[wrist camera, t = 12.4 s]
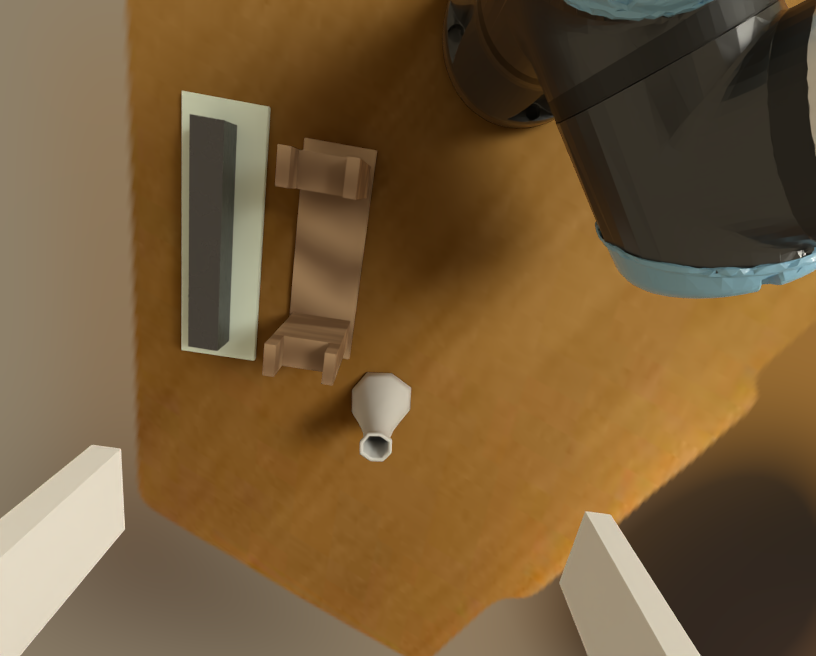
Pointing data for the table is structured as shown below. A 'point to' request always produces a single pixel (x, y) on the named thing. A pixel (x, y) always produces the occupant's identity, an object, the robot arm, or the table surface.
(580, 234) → the table surface
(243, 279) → the mat
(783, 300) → the table surface
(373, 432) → the flask
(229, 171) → the rail
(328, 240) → the rack
